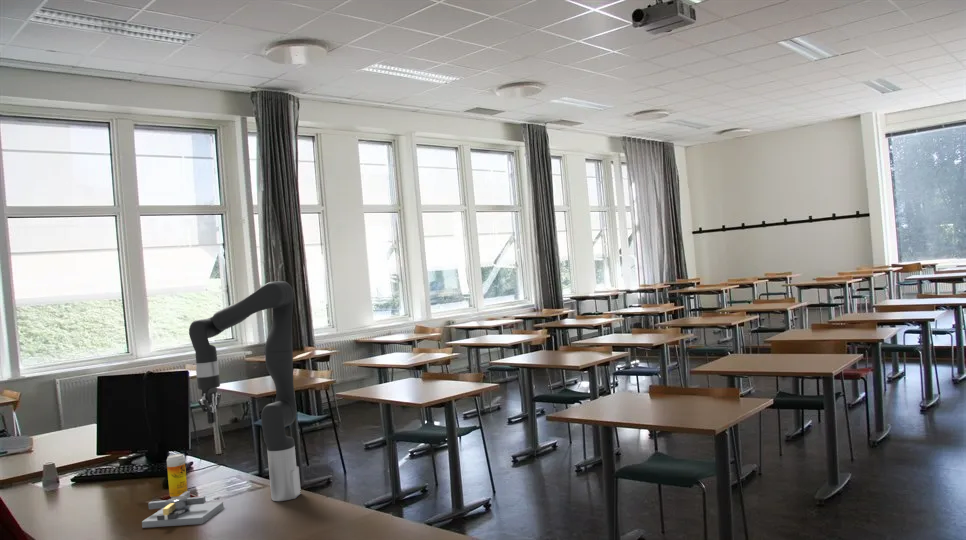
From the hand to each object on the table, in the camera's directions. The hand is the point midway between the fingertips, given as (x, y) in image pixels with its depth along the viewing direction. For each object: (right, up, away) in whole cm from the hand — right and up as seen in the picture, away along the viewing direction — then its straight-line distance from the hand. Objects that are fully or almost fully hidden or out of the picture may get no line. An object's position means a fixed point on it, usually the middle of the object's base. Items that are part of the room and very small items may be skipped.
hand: (212, 423), depth 245 cm
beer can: (-15, -29, +7) cm, 33 cm away
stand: (-2, -27, -19) cm, 33 cm away
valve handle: (-4, -25, -18) cm, 32 cm away
